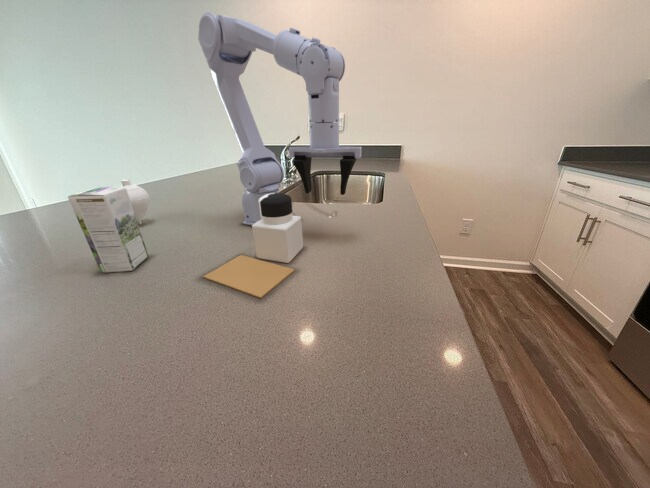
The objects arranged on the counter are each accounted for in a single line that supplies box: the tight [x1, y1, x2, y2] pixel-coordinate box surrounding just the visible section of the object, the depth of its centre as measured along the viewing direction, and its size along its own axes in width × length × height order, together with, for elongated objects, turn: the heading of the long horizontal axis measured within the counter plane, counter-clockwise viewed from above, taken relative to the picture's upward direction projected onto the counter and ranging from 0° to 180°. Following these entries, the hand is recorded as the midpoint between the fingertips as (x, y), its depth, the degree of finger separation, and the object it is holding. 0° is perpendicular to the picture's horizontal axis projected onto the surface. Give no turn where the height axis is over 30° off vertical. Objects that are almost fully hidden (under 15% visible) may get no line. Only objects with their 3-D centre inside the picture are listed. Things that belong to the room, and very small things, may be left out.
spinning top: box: [120, 179, 151, 225], centre depth 67 cm, size 8×8×12 cm
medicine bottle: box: [251, 192, 304, 264], centre depth 50 cm, size 7×7×12 cm
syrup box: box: [67, 186, 149, 274], centre depth 46 cm, size 6×6×14 cm
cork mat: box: [202, 254, 295, 299], centre depth 45 cm, size 13×9×1 cm
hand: (325, 192), depth 55 cm, fingers open, 7 cm apart
